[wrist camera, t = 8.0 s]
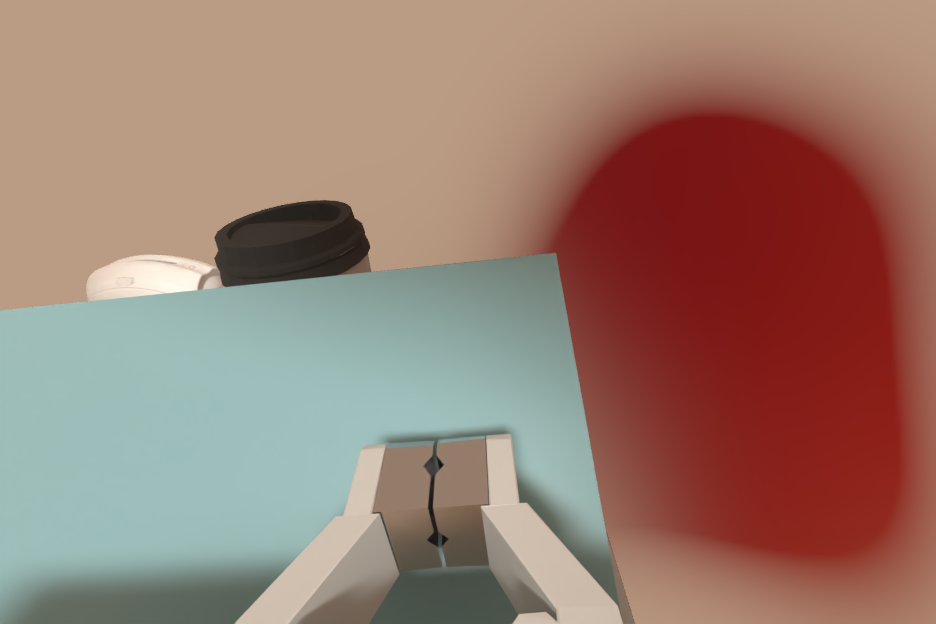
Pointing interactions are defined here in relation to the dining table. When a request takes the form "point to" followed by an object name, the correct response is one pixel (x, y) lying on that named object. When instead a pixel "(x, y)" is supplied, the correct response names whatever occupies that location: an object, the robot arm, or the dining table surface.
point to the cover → (273, 435)
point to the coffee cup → (292, 244)
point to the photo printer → (151, 277)
